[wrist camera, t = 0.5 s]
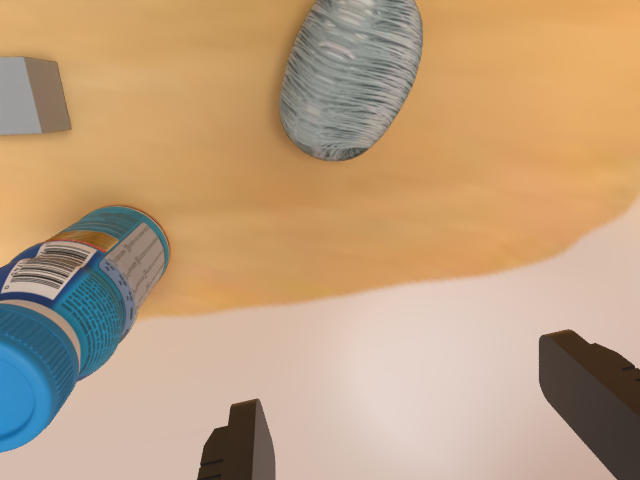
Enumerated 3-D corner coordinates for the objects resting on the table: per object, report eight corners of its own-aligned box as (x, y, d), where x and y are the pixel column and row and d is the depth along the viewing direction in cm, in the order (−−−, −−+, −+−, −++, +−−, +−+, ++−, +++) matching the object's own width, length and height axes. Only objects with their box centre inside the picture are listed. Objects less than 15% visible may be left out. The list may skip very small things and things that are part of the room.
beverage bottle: (192, 253, 38) (112, 403, 19) (125, 307, 39) (-12, 500, 20) (122, 182, 35) (-50, 277, 17) (52, 242, 36) (-184, 396, 18)
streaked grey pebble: (368, 195, 35) (355, 158, 25) (274, 149, 37) (227, 98, 27) (445, 52, 35) (461, -40, 25) (346, 15, 37) (326, -83, 27)
